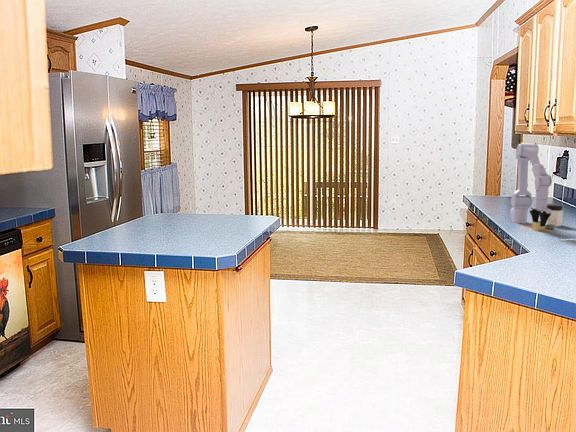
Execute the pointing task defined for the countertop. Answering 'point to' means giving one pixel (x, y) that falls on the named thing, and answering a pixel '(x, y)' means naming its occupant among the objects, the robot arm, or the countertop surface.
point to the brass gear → (537, 226)
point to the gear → (550, 227)
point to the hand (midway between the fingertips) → (538, 225)
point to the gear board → (534, 230)
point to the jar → (555, 214)
